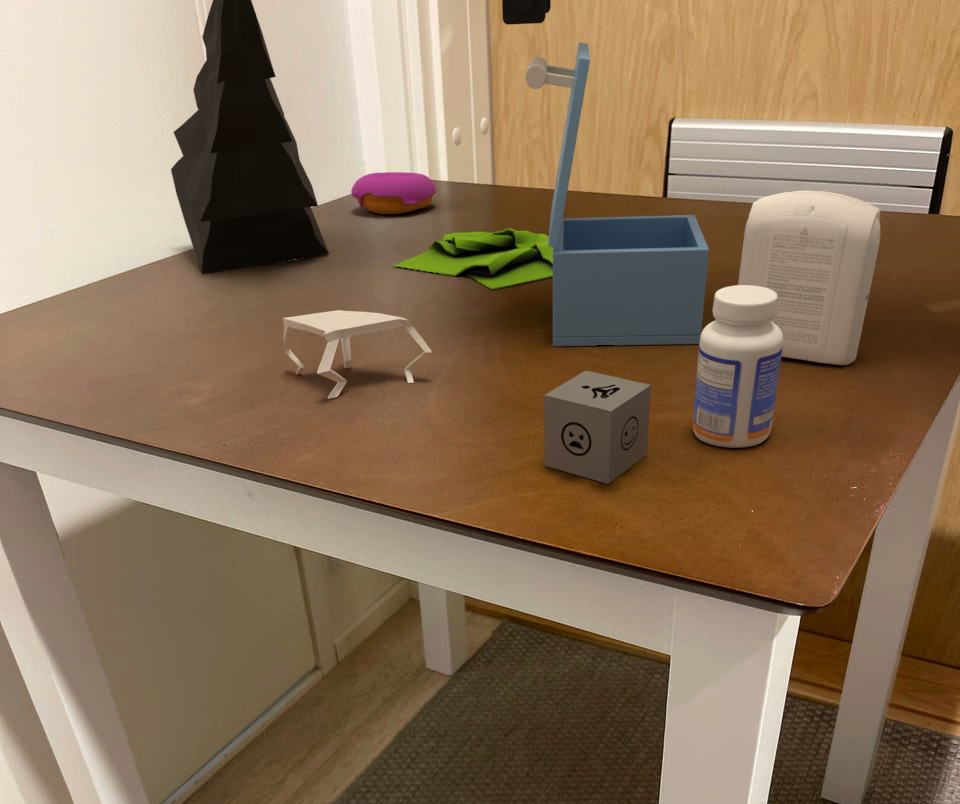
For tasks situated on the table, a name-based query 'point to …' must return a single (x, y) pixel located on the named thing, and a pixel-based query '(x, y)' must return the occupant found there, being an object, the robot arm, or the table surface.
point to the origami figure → (346, 337)
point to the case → (629, 281)
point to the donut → (393, 192)
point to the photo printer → (814, 269)
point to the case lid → (576, 81)
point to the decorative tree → (242, 155)
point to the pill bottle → (738, 368)
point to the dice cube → (596, 425)
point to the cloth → (489, 257)
